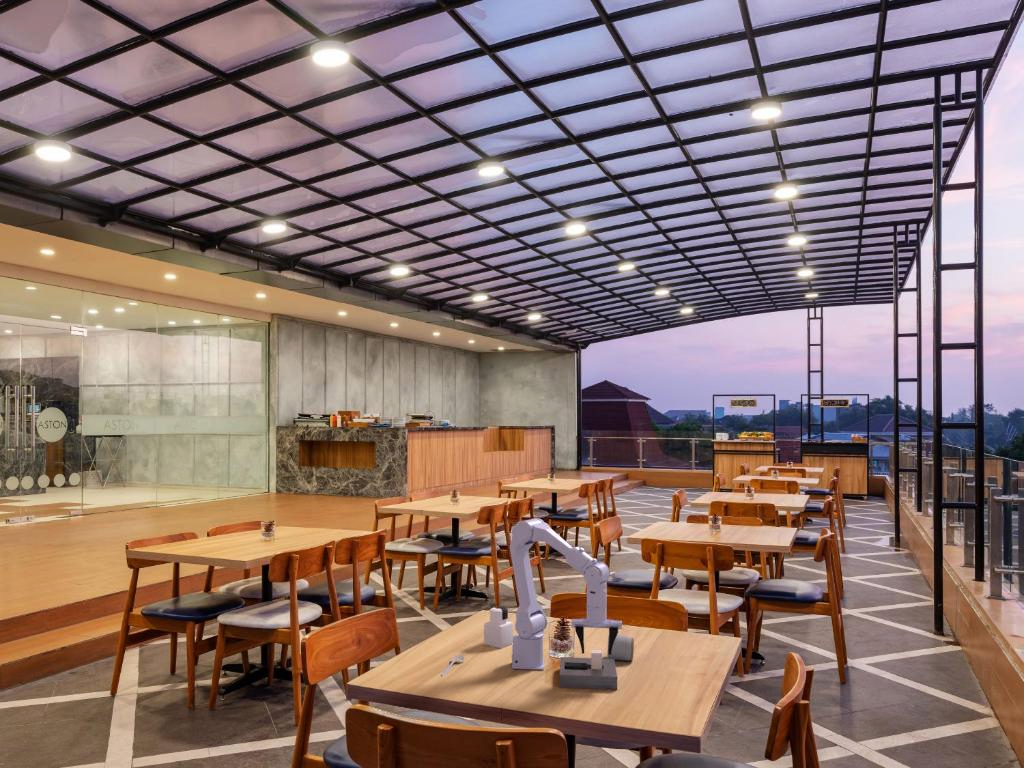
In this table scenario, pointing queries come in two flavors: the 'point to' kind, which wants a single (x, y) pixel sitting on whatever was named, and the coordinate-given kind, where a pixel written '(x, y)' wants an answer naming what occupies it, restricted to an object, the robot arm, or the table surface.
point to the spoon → (453, 663)
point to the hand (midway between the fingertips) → (596, 653)
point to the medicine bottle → (498, 628)
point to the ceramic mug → (622, 648)
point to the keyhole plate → (587, 674)
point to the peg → (596, 659)
